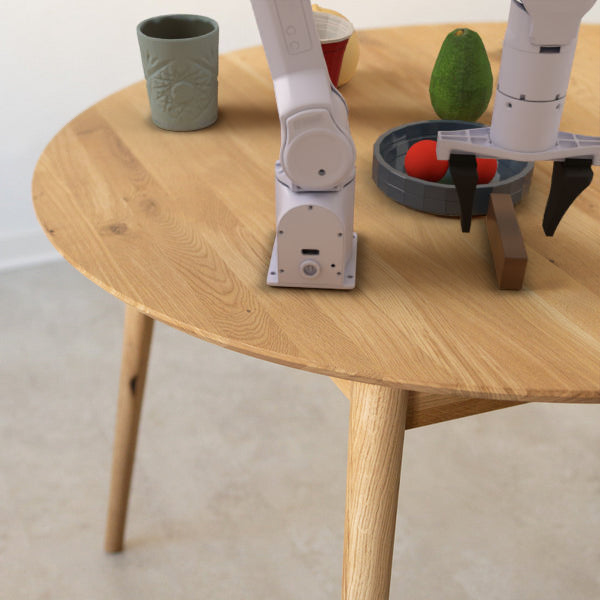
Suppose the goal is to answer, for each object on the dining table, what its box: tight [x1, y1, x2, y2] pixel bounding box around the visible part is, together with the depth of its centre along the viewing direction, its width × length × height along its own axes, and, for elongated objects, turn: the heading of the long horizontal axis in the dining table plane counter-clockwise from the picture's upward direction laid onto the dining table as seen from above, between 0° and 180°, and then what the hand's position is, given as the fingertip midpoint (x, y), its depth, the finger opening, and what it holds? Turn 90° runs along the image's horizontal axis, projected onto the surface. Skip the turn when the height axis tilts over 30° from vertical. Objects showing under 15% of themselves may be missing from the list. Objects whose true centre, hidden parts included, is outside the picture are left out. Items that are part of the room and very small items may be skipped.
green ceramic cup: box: [135, 13, 220, 132], centre depth 98 cm, size 10×10×12 cm
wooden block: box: [485, 193, 529, 291], centre depth 74 cm, size 12×2×3 cm, turn 175°
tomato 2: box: [476, 158, 497, 185], centre depth 84 cm, size 5×5×5 cm
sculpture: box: [311, 3, 360, 87], centre depth 109 cm, size 11×12×11 cm
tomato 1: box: [404, 140, 449, 183], centre depth 85 cm, size 5×5×5 cm
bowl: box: [371, 119, 536, 217], centre depth 86 cm, size 17×17×4 cm
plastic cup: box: [313, 11, 356, 90], centre depth 100 cm, size 11×11×12 cm
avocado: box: [428, 27, 494, 122], centre depth 97 cm, size 8×8×12 cm
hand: (506, 229), depth 73 cm, fingers open, 7 cm apart
